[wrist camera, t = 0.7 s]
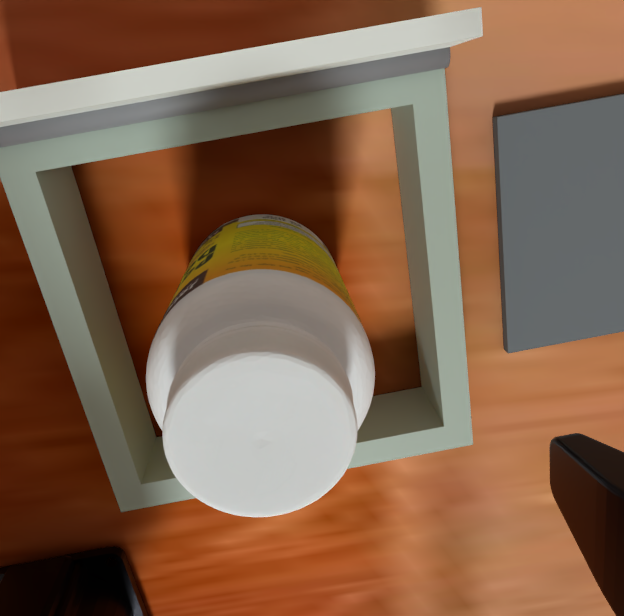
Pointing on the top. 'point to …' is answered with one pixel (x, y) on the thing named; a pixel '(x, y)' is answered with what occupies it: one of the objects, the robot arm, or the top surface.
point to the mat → (561, 222)
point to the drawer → (227, 123)
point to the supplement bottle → (260, 370)
